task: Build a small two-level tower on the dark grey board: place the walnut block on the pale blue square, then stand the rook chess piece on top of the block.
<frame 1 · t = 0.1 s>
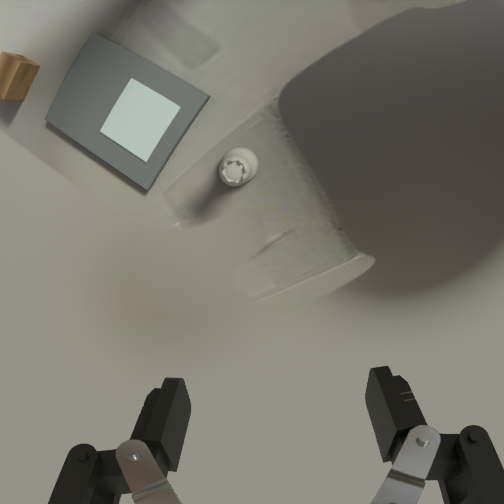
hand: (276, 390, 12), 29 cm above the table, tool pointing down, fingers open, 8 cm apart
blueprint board: (119, 105, 35), on the table
rook chess piece: (240, 164, 38), on the table
walnut block: (22, 77, 33), on the table
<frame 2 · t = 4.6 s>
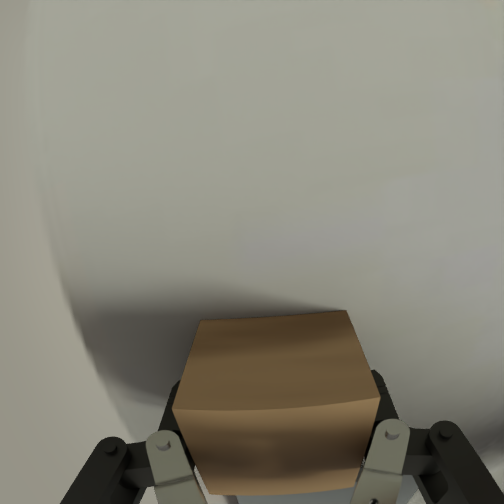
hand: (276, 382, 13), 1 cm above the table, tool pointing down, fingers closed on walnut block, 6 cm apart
walnut block: (277, 371, 14), on the table, touching gripper
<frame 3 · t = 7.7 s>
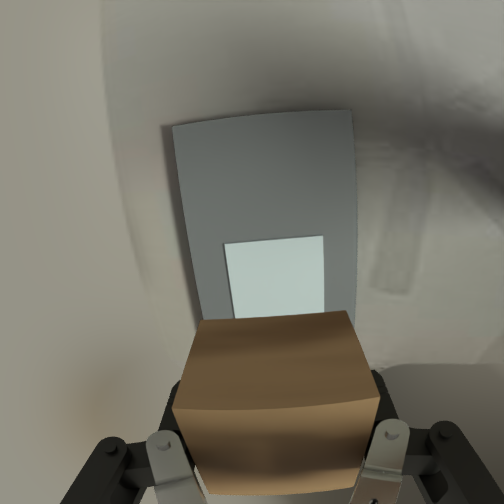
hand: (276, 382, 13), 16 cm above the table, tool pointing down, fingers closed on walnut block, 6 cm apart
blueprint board: (273, 234, 27), on the table
walnut block: (276, 370, 14), point 15 cm above the table, touching gripper
when the fingers open (3 cm above the table, at t = 10.8 s): walnut block drops 1 cm, resting on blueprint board.
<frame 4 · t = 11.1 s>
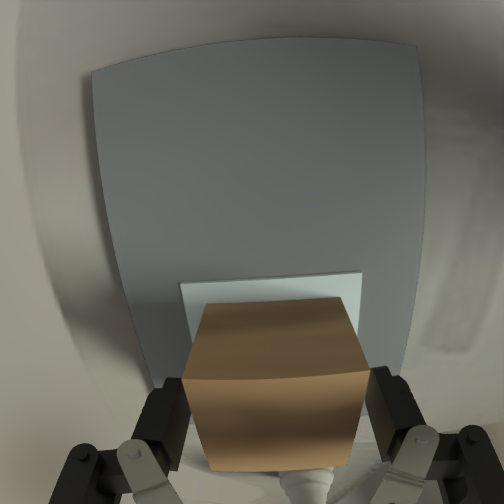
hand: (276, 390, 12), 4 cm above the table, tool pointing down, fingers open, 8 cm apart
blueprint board: (270, 266, 15), on the table
rook chess piece: (305, 464, 21), on the table
walnut block: (275, 354, 15), point 1 cm above the table, touching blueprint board
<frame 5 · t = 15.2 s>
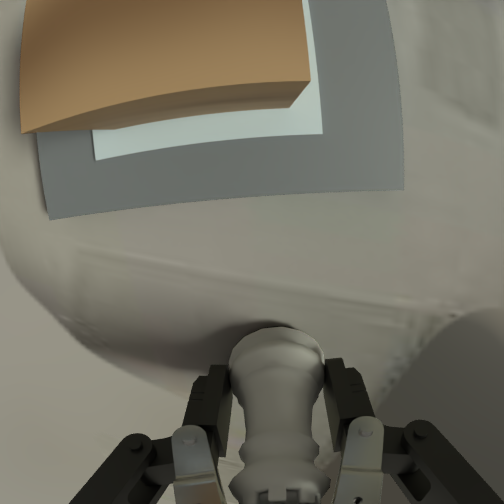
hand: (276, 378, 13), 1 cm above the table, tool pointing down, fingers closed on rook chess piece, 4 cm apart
rook chess piece: (276, 356, 15), on the table, touching gripper
walnut block: (191, 34, 9), point 1 cm above the table, touching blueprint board
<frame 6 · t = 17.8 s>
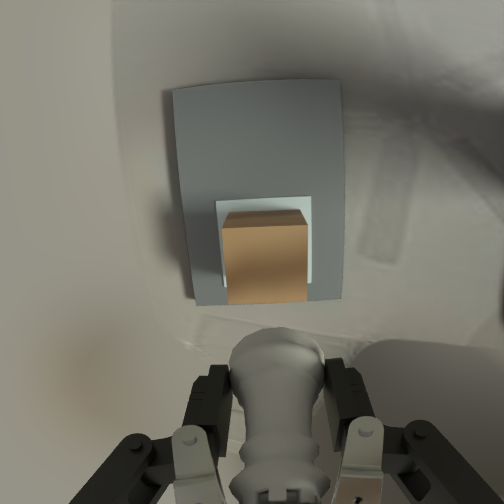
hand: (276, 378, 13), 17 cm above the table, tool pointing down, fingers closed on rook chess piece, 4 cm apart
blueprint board: (263, 195, 28), on the table
rook chess piece: (276, 357, 15), point 16 cm above the table, touching gripper
walnut block: (265, 244, 28), point 1 cm above the table, touching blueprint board
when the fingers open (9 cm above the table, at t = 20.3 s): rook chess piece stays where it is, resting on walnut block.
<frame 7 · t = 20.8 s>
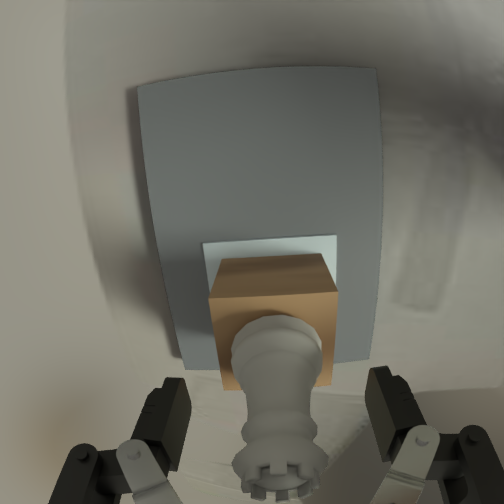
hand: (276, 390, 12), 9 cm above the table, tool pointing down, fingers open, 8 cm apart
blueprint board: (269, 232, 20), on the table
rook chess piece: (276, 344, 16), point 6 cm above the table, touching walnut block
walnut block: (273, 300, 20), point 1 cm above the table, touching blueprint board, rook chess piece
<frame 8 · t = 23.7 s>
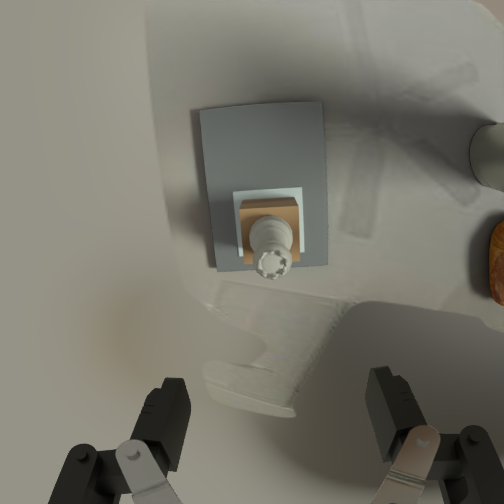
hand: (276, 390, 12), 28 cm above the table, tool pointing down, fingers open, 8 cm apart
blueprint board: (267, 187, 37), on the table
rook chess piece: (270, 234, 33), point 6 cm above the table, touching walnut block
walnut block: (269, 223, 37), point 1 cm above the table, touching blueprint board, rook chess piece
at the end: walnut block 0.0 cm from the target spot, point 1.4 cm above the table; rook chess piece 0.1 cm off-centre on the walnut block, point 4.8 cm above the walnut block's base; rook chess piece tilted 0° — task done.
